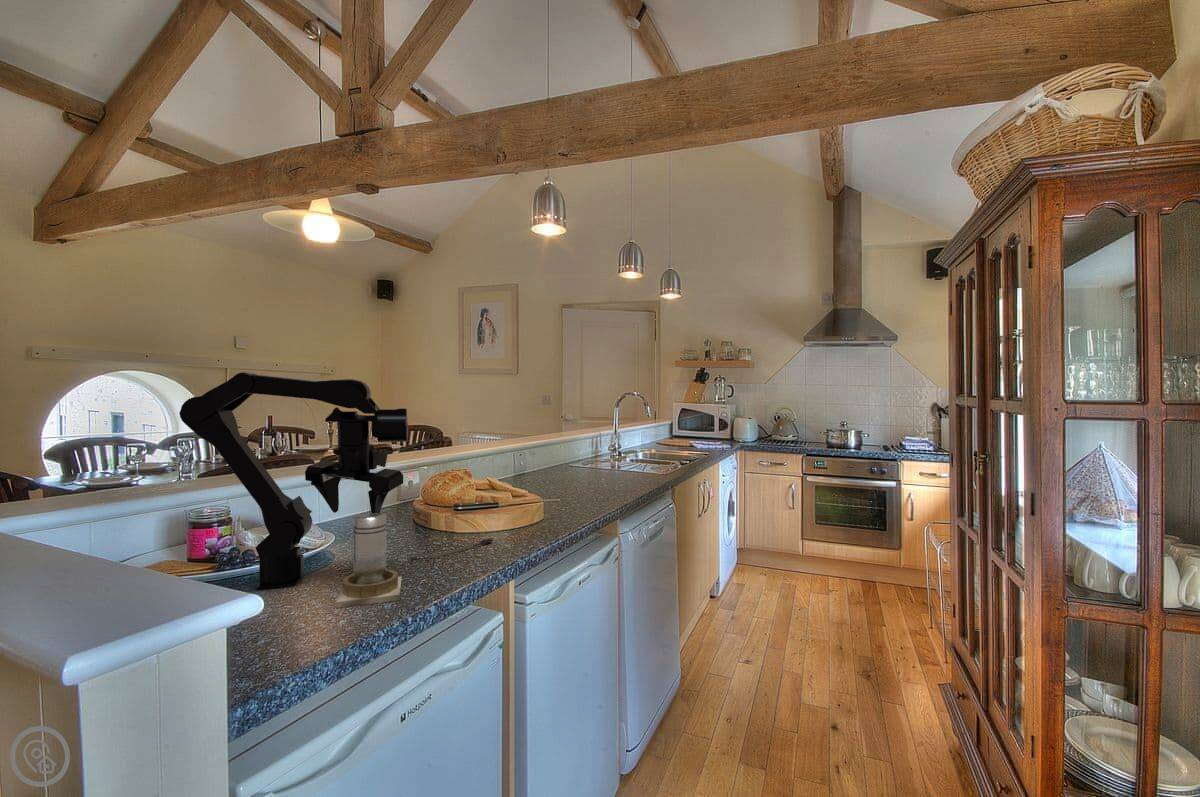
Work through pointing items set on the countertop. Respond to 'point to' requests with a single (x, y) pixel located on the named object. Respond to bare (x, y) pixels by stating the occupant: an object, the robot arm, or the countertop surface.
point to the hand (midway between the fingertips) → (355, 515)
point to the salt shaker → (369, 548)
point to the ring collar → (369, 591)
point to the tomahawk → (457, 549)
